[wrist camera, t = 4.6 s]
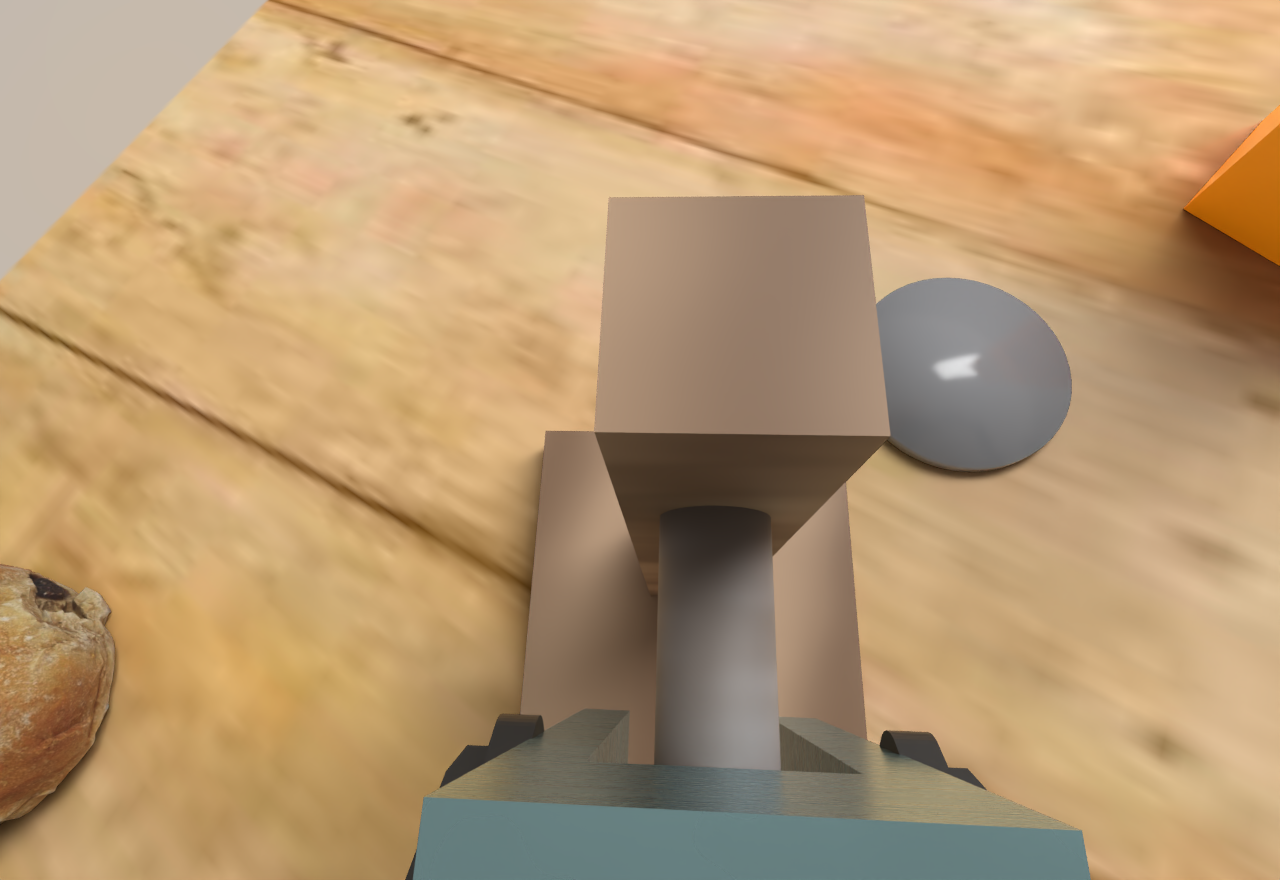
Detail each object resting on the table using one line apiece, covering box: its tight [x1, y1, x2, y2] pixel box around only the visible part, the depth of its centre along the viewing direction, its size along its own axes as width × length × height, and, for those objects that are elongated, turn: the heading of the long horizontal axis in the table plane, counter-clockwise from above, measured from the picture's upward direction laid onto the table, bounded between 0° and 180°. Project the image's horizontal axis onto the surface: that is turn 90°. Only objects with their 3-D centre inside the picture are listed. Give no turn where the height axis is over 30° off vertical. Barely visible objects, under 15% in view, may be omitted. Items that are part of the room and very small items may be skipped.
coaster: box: [876, 278, 1072, 472], centre depth 27 cm, size 9×9×1 cm
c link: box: [413, 709, 1091, 880], centre depth 10 cm, size 6×4×11 cm, turn 88°
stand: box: [520, 195, 891, 771], centre depth 15 cm, size 12×16×19 cm
